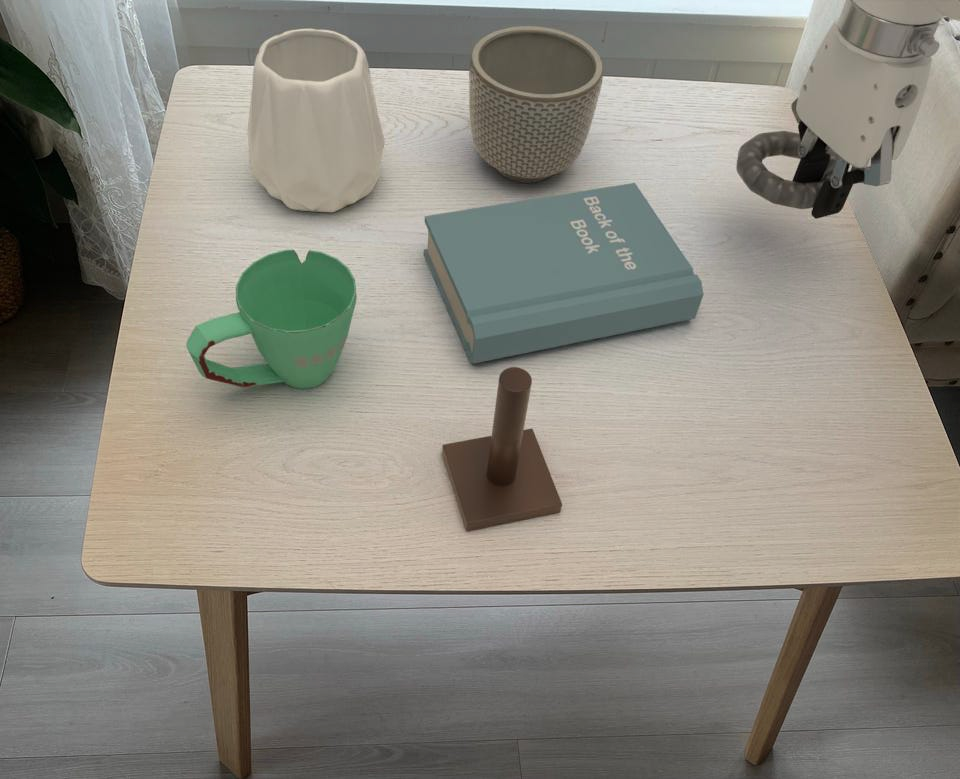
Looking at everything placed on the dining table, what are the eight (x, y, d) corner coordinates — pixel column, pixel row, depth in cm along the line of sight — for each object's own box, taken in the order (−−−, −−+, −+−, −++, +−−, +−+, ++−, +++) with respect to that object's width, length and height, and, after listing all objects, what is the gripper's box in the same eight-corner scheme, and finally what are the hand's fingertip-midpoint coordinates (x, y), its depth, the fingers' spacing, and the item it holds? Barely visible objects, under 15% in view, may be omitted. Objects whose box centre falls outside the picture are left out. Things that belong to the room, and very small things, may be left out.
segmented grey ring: (810, 141, 99) (817, 121, 97) (863, 205, 92) (873, 185, 90) (716, 152, 97) (722, 132, 95) (764, 219, 90) (772, 199, 88)
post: (531, 436, 82) (550, 331, 72) (560, 512, 78) (585, 411, 67) (441, 452, 81) (448, 347, 70) (466, 531, 76) (477, 431, 66)
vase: (378, 229, 98) (377, 101, 87) (241, 219, 98) (221, 90, 86) (390, 147, 107) (390, 22, 96) (264, 138, 107) (249, 11, 95)
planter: (606, 189, 105) (628, 86, 95) (491, 214, 101) (502, 109, 91) (553, 119, 113) (568, 17, 103) (444, 139, 109) (449, 35, 99)
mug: (325, 314, 90) (319, 234, 82) (380, 381, 85) (379, 302, 78) (179, 376, 84) (158, 296, 76) (229, 452, 79) (211, 374, 71)
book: (625, 220, 102) (634, 182, 98) (693, 324, 93) (705, 287, 89) (423, 254, 96) (424, 216, 93) (472, 369, 87) (476, 332, 83)
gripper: (991, 67, 75) (899, 246, 88) (860, -28, 84) (795, 148, 98) (918, 83, 72) (834, 264, 86) (791, -16, 82) (734, 162, 96)
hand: (814, 201), depth 92 cm, fingers closed on segmented grey ring, 3 cm apart
